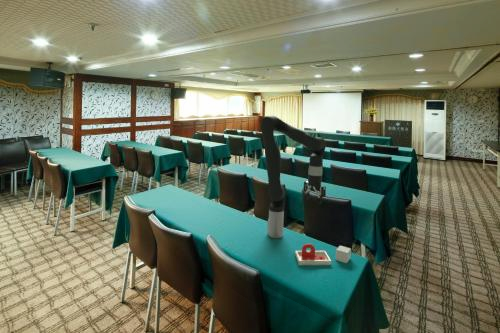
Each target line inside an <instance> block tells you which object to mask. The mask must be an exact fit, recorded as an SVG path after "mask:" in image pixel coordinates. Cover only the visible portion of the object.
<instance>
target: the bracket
mask: <svg viewBox="0 0 500 333" xmlns="http://www.w3.org/2000/svg"><path fill="white" fill-rule="evenodd" d="M308 249H310V250H309V251H310V252H307V251H308ZM301 251H302V260H325V257H324V256H316V255H315V251H316V248H315V245H313V244H312V243H306V244H305V243H304V245H302V247H301Z"/></svg>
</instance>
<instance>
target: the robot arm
mask: <svg viewBox="0 0 500 333" xmlns="http://www.w3.org/2000/svg"><path fill="white" fill-rule="evenodd" d="M260 129H261V134H262V141H263V146H264V156H265V157H264V158H265V164H266V172H267V179H268V189H267V190H268V197H269V199H270V201H269V206H268V219H267V229H266V230H267V233H266V234H267V236H268V237H269V238H272V239H281V238H282V237H283V236H284V219H285V218H284V217H285V216H284V214H285V204H286V188H285V186H284V185H282V184H281V183H282V182H281V173H282V172H281V171H282V157H281V156H282V155H281V151H280V149H279V147H278V145H277V142H276V141H275V140H276V139H275V134H274V132H278V133H281V134H284V135H285V136H287V137H288V138H289V139H290V140H292V141H293V142H296V143H298V144H300V145H303V146H304V147H305V148H306V149H308V150H311V151H312V153H311V154H310V157H309V163H308V164H309V166H308V174H307V175H308V176H307V181H304V182H303V189H302V191H303V192H304V193H305V200H306V201H309V200H310V199H311V198H310V197H311V192H314V193H315V194H316V195H317V205H321V204H322V203H323V198H326V194H327V191H326V190H327V189H326V188H327V187H326V186H325V185H324V186H323V185H322V182H323V181H322V180H323V171H324V170H323V164H324V163H323V162H324V161H323V160H324V155H325V151H326V147H327V146H326V140H325V139H324V138H323V137H321V136H320V137H319V136H318V137H314V136H312V135H311V134H310V133H309V132H306V131H304V130H303V129H302V130H301V129H300V128H297V127H295V126H292V125H290V124H288V123H287V122H285V121H284V120H282V119H281V118H279V117H277V116H275V115H266V116H263V117H262V118H261V120H260Z"/></svg>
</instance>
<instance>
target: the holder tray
mask: <svg viewBox="0 0 500 333" xmlns="http://www.w3.org/2000/svg"><path fill="white" fill-rule="evenodd" d="M306 251H307V252H310V251H311V250H306ZM294 252H295V254H294V255H295V258H296V261H297V263H298V266H332V260H331V258H330V257H329V255H328V253H327V251H326V250H315V255H316V256H324V257H325V260H302V250H295V251H294Z"/></svg>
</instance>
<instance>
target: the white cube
mask: <svg viewBox="0 0 500 333" xmlns="http://www.w3.org/2000/svg"><path fill="white" fill-rule="evenodd" d="M351 252H352V248H350V247H347V246H343V245H339V246H338V247H337V248H336V249H335V260H336V261H337V262H342V263H345V264H348V262H349V261H350V259H351V255H352V254H351Z"/></svg>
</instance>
